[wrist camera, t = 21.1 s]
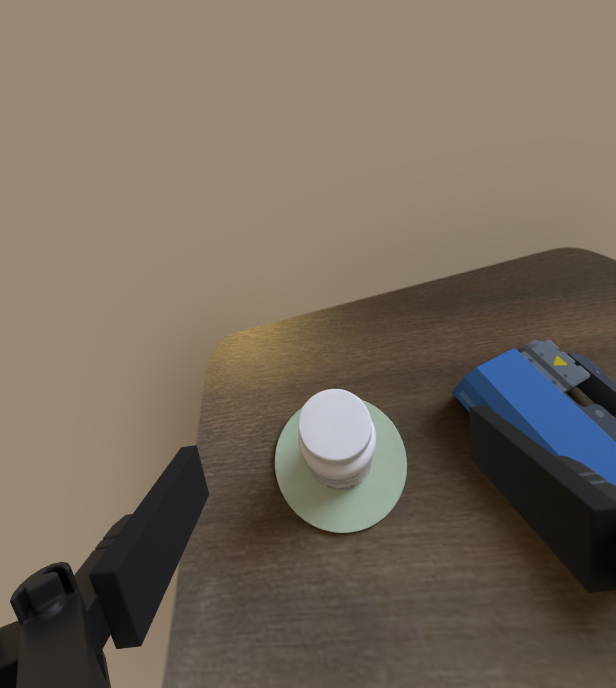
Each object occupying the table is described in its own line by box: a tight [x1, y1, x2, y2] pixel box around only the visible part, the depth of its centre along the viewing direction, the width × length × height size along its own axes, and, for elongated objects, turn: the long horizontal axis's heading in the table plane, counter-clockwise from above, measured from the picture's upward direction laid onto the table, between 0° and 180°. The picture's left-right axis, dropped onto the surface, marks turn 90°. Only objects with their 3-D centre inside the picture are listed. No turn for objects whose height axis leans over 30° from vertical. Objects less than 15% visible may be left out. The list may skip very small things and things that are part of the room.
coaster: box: [275, 399, 407, 533], centre depth 24 cm, size 10×10×1 cm
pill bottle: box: [298, 389, 376, 491], centre depth 21 cm, size 5×5×8 cm
